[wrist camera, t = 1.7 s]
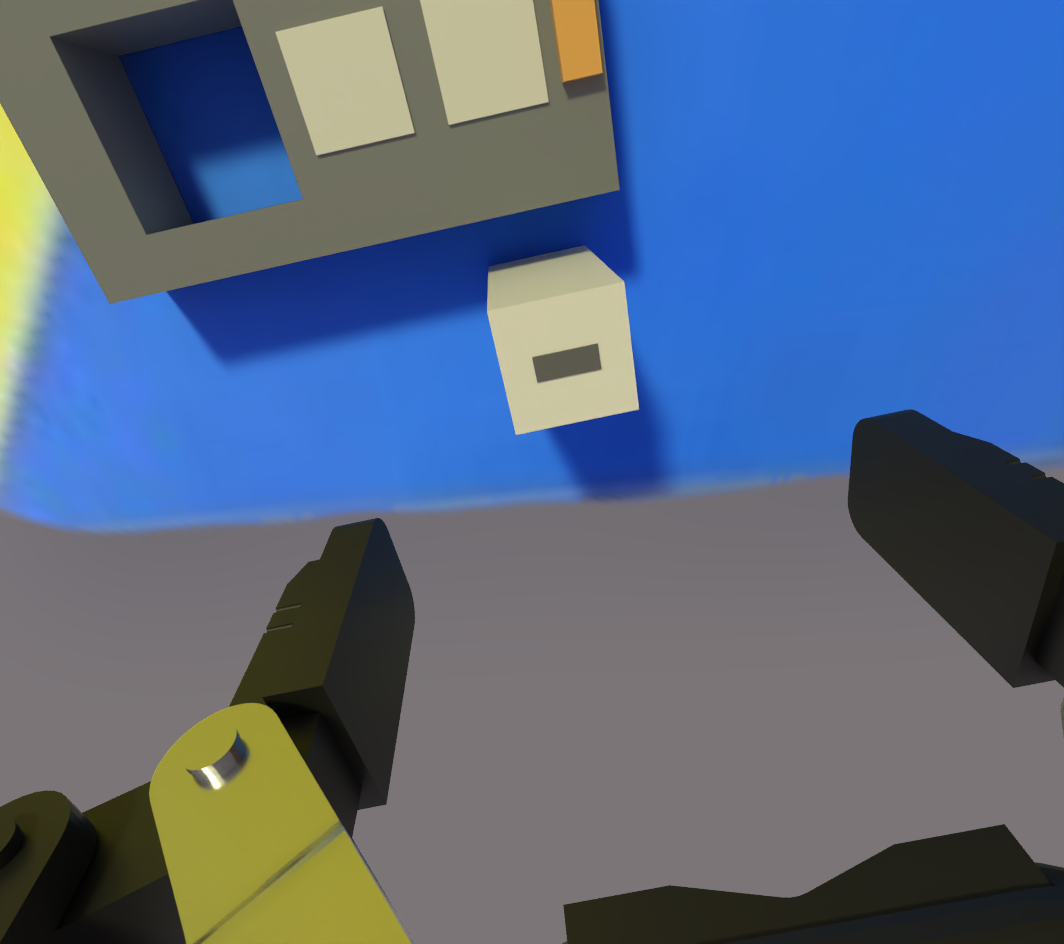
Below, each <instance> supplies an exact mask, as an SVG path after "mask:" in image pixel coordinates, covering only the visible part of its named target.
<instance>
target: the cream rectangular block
mask: <svg viewBox="0 0 1064 944" xmlns="http://www.w3.org/2000/svg"><path fill="white" fill-rule="evenodd" d="M487 313H488V317H489V322H490V326H491V330H492V335H493V339H494V343H495V347H496V352H497V356H498V360H499V364H500V369H501V373H502V377H503V381H504V386H505V390H506V394H507V399H508V403H509V407H510V411H511V416H512V420H513V424H514V428H515V433H516V435H518V434H523V433H528V432H533V431H537V430H542V429H547V428H552V427H557V426H561V425H566V424H571V423H576V422H581V421H586V420H590V419H595V418H600V417H605V416H610V415H614V414H619V413H624V412H629V411H634V410H639V404H638V395H637V387H636V378H635V370H634V361H633V353H632V344H631V336H630V327H629V318H628V310H627V301H626V293H625V284H624V281H623V280H622V279H621V278H620V277H619V276H617V275H616V274H615V273H614V272H613V271H612V270H611V269H610V268H609V267H608V266H607V265H605V264H604V263H603V262H602V261H601V260H600V259H599V258H598V257H597V256H596V255H595V254H594V253H592V252H591V251H590V250H589V249H588V248H587V247H586V246H585V245H583V246H579V247H574V248H570V249H565V250H560V251H556V252H551V253H547V254H542V255H538V256H533V257H529V258H524V259H520V260H515V261H510V262H506V263H501V264H497V265H492V266H488V298H487Z"/></svg>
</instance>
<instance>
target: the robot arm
mask: <svg viewBox="0 0 1064 944" xmlns="http://www.w3.org/2000/svg"><path fill="white" fill-rule="evenodd" d="M848 508H849V513H850V517H851V520H852V522H853V525H854V527H855V528H856V530H857V532H858V533H859V534H860V535H861V537H862V538H863V539H864V540H865V541H866V542H867V543H869V545H870V546H871V547H872V548H873V549H874V550H875V551H876V552H877V553H878V554H879V555H880V556H881V557H882V558H884V560H885V561H886V562H887V563H888V564H889V565H890V566H891V567H892V568H893V569H895V571H896V572H897V573H898V574H899V575H900V576H901V577H903V578H904V580H906V582H907V583H908V584H909V585H910V586H911V587H913V589H914V590H915V591H917V593H919V594H920V595H921V596H922V598H923V599H924V600H925V601H926V602H928V604H929V605H931V607H932V608H933V609H935V610H936V611H937V612H938V613H939V614H940V615H941V616H942V617H943V618H944V619H945V620H946V621H947V622H948V623H949V624H950V625H951V626H952V627H953V628H954V629H955V630H956V631H957V632H958V633H959V634H960V635H961V636H962V637H963V638H964V639H965V640H966V641H967V642H968V643H969V644H970V645H971V646H972V647H973V648H974V649H975V650H976V651H977V652H978V653H979V654H980V655H981V656H982V657H983V658H984V659H985V660H986V661H987V662H988V663H989V664H990V665H991V666H992V667H993V668H994V669H995V670H996V671H997V672H998V673H999V674H1000V675H1001V676H1002V677H1003V678H1004V679H1005V680H1006V681H1007V682H1008V683H1009V684H1010V685H1011V686H1012V687H1013V688H1015V687H1021V686H1026V685H1031V684H1036V683H1041V682H1047V681H1052V680H1056V681H1057V682H1058V683H1059V684H1061V685H1062V686H1063V687H1064V483H1062V482H1060V481H1058V480H1057V479H1055V478H1053V477H1048V478H1047V477H1046V476H1045V473H1044V472H1042V471H1040V470H1039V469H1037V468H1035V467H1033V466H1031V465H1030V464H1028V463H1026V462H1025V463H1020V459H1019V458H1017V457H1015V456H1013V455H1011V454H1010V453H1008V452H1006V451H1004V450H1002V449H1001V448H999V447H997V446H995V445H993V444H992V443H990V442H986V441H983V440H979V439H976V438H972V437H969V436H966V435H962V434H959V433H955V432H952V431H950V430H949V429H947V428H945V427H943V426H942V425H940V424H938V423H936V422H935V421H933V420H931V419H930V418H928V417H926V416H924V415H923V414H921V413H919V412H917V411H915V410H904V411H899V412H894V413H889V414H885V415H880V416H875V417H870V418H865V419H862V420H860V421H859V422H858V423H857V424H856V426H855V429H854V432H853V441H852V454H851V466H850V479H849V491H848ZM276 611H277V612H276V613H273V615H272V617H271V620H270V622H269V624H268V626H267V633H264V634H263V636H262V639H261V641H260V643H259V645H258V647H257V649H256V651H255V653H254V655H253V658H252V660H251V662H250V664H249V666H248V668H247V670H246V672H245V674H244V676H243V679H242V681H241V683H240V685H239V687H238V689H237V691H236V693H235V695H234V698H233V700H232V702H231V704H230V706H229V707H228V708H226V709H223V710H221V711H218V712H216V713H214V714H212V715H210V716H209V717H207V718H205V719H204V720H202V721H201V722H199V723H198V724H196V725H195V726H194V727H192V728H191V729H190V730H189V731H187V732H186V733H185V734H184V735H183V736H182V737H181V738H180V739H179V740H178V741H177V742H176V743H175V744H174V745H173V746H172V747H171V748H170V749H169V751H168V752H167V753H166V754H165V756H164V757H163V759H162V760H161V762H160V763H159V765H158V767H157V769H156V771H155V773H154V774H153V777H152V780H151V782H148V783H146V784H144V785H142V786H139V787H137V788H135V789H133V790H131V791H129V792H126V793H124V794H122V795H120V796H118V797H116V798H113V799H112V800H109V801H107V802H105V803H103V804H101V805H98V806H96V807H94V808H92V809H90V810H88V811H85V812H83V813H81V812H80V811H79V809H77V807H76V806H75V805H74V804H72V802H71V801H70V800H69V799H68V798H67V797H66V796H64V795H63V794H62V793H59V792H56V791H41V792H35V793H32V794H28V795H26V796H23V797H20V798H18V799H15V800H13V801H11V802H9V803H7V804H6V805H3V806H2V807H0V944H415V942H414V941H413V939H412V938H411V936H410V934H409V933H408V931H407V929H406V927H405V926H404V924H403V922H402V921H401V919H400V917H399V916H398V914H397V912H396V911H395V909H394V907H393V906H392V904H391V902H390V901H389V899H388V897H387V896H386V894H385V892H384V891H383V889H382V887H381V886H380V884H379V882H378V880H377V879H376V877H375V875H374V874H373V872H372V870H371V869H370V867H369V865H368V864H367V862H366V860H365V859H364V857H363V855H362V854H361V852H360V850H359V849H358V847H357V845H356V844H355V842H354V840H353V839H352V835H353V830H354V824H355V819H356V815H357V810H360V809H365V808H370V807H375V806H380V805H386V803H387V796H388V790H389V784H390V777H391V770H392V764H393V757H394V751H395V745H396V739H397V733H398V726H399V720H400V713H401V707H402V700H403V694H404V688H405V682H406V675H407V668H408V662H409V656H410V649H411V643H412V637H413V630H414V623H415V611H414V602H413V597H412V593H411V590H410V587H409V584H408V581H407V579H406V576H405V573H404V571H403V568H402V566H401V563H400V560H399V558H398V555H397V553H396V550H395V547H394V545H393V542H392V539H391V537H390V534H389V532H388V529H387V527H386V525H385V523H384V522H383V521H382V520H381V519H380V518H376V519H371V520H366V521H361V522H356V523H351V524H346V525H342V526H337V527H335V528H334V529H333V530H332V532H331V535H330V537H329V539H328V542H327V544H326V546H325V549H324V551H323V554H322V556H321V558H320V560H316V561H311V562H308V563H307V564H306V565H305V566H304V567H303V568H302V570H301V571H300V572H299V573H298V574H297V575H296V576H295V577H294V578H293V579H292V580H291V581H290V582H289V583H288V584H287V586H286V588H285V590H284V592H283V594H282V596H281V598H280V601H279V603H278V605H277V607H276ZM1061 717H1062V718H1061V719H1062V728H1063V736H1064V698H1063V701H1062V704H1061ZM564 914H565V923H566V934H567V942H565V943H563V944H1064V868H1062V867H1057V866H1052V865H1047V864H1042V863H1035V862H1033V860H1032V859H1031V858H1030V856H1029V855H1028V854H1027V853H1026V851H1025V850H1024V849H1023V848H1022V846H1021V845H1020V844H1019V843H1018V841H1017V840H1016V838H1015V837H1014V836H1013V835H1012V834H1011V832H1010V831H1009V830H1008V828H1007V827H1006V826H1005V825H1004V824H1003V825H998V826H993V827H987V828H981V829H976V830H971V831H965V832H960V833H954V834H949V835H944V836H938V837H932V838H927V839H922V840H916V841H911V842H905V843H900V844H895V845H892V846H890V847H889V848H887V849H885V850H883V851H882V852H880V853H878V854H876V855H874V856H872V857H871V858H869V859H868V860H865V861H863V862H862V863H860V864H858V865H856V866H854V867H853V868H851V869H849V870H847V871H845V872H844V873H842V874H840V875H838V876H836V877H835V878H833V879H831V880H829V881H827V882H826V883H824V884H822V885H820V886H819V887H816V888H815V889H813V890H811V891H809V892H808V893H805V894H803V895H801V896H797V897H792V898H781V897H771V896H762V895H753V894H743V893H734V892H725V891H716V890H707V889H698V888H688V887H679V886H664V887H659V888H654V889H649V890H643V891H637V892H632V893H627V894H621V895H615V896H610V897H604V898H599V899H593V900H588V901H582V902H577V903H572V904H566V905H564Z"/></svg>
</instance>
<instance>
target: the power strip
mask: <svg viewBox="0 0 1064 944" xmlns="http://www.w3.org/2000/svg"><path fill="white" fill-rule="evenodd" d="M241 26H242V28H243V31H244V33H245V36H246V39H247V42H248V45H249V48H250V50H251V53H252V56H253V59H254V62H255V64H256V67H257V70H258V73H259V76H260V79H261V81H262V84H263V87H264V90H265V93H266V96H267V98H268V101H269V104H270V107H271V110H272V112H273V115H274V118H275V121H276V124H277V127H278V129H279V132H280V135H281V138H282V141H283V143H284V146H285V149H286V152H287V155H288V158H289V160H290V163H291V166H292V169H293V172H294V175H295V177H296V180H297V183H298V186H299V189H300V191H301V194H302V197H303V199H302V200H297V201H293V202H289V203H284V204H280V205H275V206H271V207H267V208H262V209H258V210H253V211H249V212H245V213H240V214H236V215H231V216H227V217H223V218H218V219H214V220H209V221H205V222H201V223H196V224H194V223H193V221H192V219H191V217H190V214H189V212H188V210H187V208H186V205H185V203H184V201H183V199H182V196H181V194H180V192H179V190H178V188H177V185H176V183H175V181H174V179H173V176H172V174H171V172H170V170H169V167H168V165H167V163H166V161H165V158H164V156H163V154H162V152H161V149H160V147H159V145H158V143H157V140H156V138H155V136H154V134H153V132H152V129H151V127H150V125H149V123H148V120H147V118H146V116H145V114H144V111H143V109H142V107H141V105H140V102H139V100H138V98H137V96H136V93H135V91H134V89H133V87H132V84H131V82H130V80H129V78H128V75H127V73H126V71H125V69H124V67H123V64H122V62H121V60H120V58H119V56H121V55H125V54H129V53H133V52H138V51H142V50H146V49H150V48H154V47H158V46H163V45H167V44H171V43H175V42H179V41H183V40H187V39H192V38H196V37H200V36H204V35H208V34H212V33H217V32H221V31H225V30H229V29H233V28H237V27H241ZM0 104H1V105H2V107H3V109H4V111H5V113H6V115H7V116H8V118H9V120H10V122H11V124H12V126H13V127H14V129H15V131H16V133H17V135H18V137H19V138H20V140H21V142H22V144H23V146H24V148H25V149H26V151H27V153H28V155H29V157H30V159H31V160H32V162H33V164H34V166H35V168H36V170H37V171H38V173H39V175H40V177H41V179H42V181H43V182H44V184H45V186H46V188H47V190H48V192H49V193H50V195H51V197H52V199H53V201H54V203H55V204H56V206H57V208H58V210H59V212H60V214H61V215H62V217H63V219H64V221H65V223H66V225H67V226H68V228H69V230H70V232H71V234H72V236H73V237H74V239H75V241H76V243H77V245H78V247H79V248H80V250H81V252H82V254H83V256H84V258H85V259H86V261H87V263H88V265H89V267H90V269H91V270H92V272H93V274H94V276H95V278H96V280H97V281H98V283H99V285H100V287H101V289H102V291H103V292H104V294H105V296H106V298H107V300H108V302H109V303H110V304H111V303H115V302H120V301H124V300H129V299H133V298H138V297H142V296H147V295H151V294H156V293H160V292H165V291H169V290H174V289H178V288H183V287H187V286H192V285H196V284H201V283H205V282H210V281H214V280H219V279H223V278H227V277H232V276H236V275H241V274H245V273H250V272H254V271H259V270H263V269H268V268H272V267H277V266H281V265H286V264H290V263H295V262H299V261H304V260H308V259H313V258H317V257H322V256H326V255H331V254H335V253H339V252H344V251H348V250H353V249H357V248H362V247H366V246H371V245H375V244H380V243H384V242H389V241H393V240H398V239H402V238H407V237H411V236H416V235H420V234H425V233H429V232H434V231H438V230H443V229H447V228H451V227H456V226H460V225H465V224H469V223H474V222H478V221H483V220H487V219H492V218H496V217H501V216H505V215H510V214H514V213H519V212H523V211H528V210H532V209H537V208H541V207H546V206H550V205H555V204H559V203H563V202H568V201H572V200H577V199H581V198H586V197H590V196H595V195H599V194H604V193H608V192H613V191H617V190H620V188H619V179H618V170H617V161H616V152H615V144H614V135H613V126H612V117H611V108H610V99H609V90H608V81H607V72H606V63H605V55H604V46H603V37H602V28H601V19H600V10H599V1H598V0H0Z"/></svg>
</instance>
